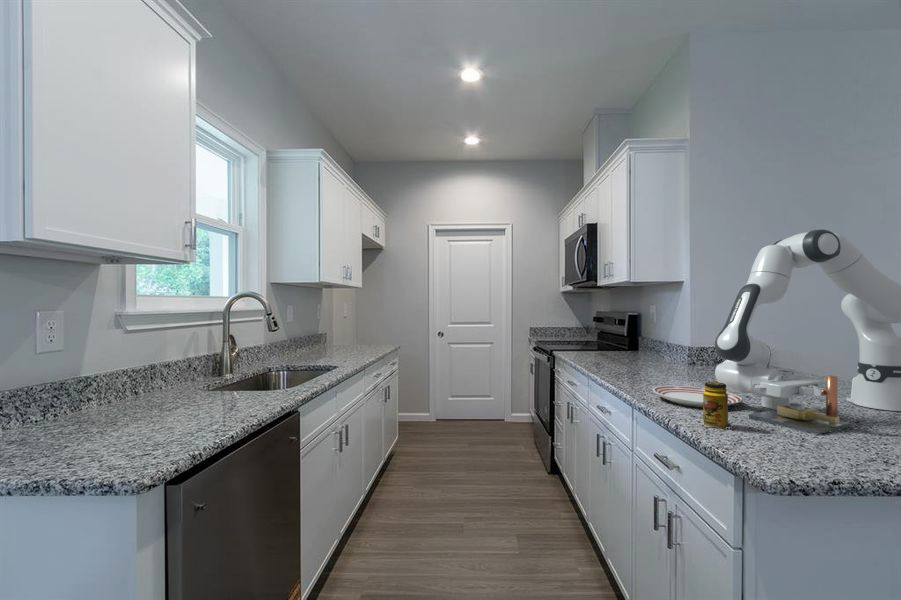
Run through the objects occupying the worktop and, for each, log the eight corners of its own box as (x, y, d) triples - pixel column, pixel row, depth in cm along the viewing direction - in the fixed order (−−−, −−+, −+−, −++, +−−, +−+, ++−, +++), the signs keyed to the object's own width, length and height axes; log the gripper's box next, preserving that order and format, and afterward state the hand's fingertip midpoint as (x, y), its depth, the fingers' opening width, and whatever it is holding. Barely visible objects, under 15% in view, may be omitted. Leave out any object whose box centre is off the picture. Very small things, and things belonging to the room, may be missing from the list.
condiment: (701, 426, 126) (702, 384, 126) (700, 419, 134) (700, 379, 134) (732, 430, 123) (732, 386, 123) (729, 422, 130) (729, 381, 130)
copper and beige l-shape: (775, 414, 134) (776, 370, 134) (790, 411, 137) (790, 368, 137) (829, 426, 121) (830, 377, 121) (844, 423, 124) (844, 375, 124)
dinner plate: (727, 396, 166) (727, 387, 166) (755, 414, 140) (755, 404, 140) (647, 391, 174) (647, 383, 174) (659, 408, 148) (659, 398, 148)
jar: (787, 412, 142) (787, 374, 142) (758, 406, 149) (758, 370, 149) (798, 408, 147) (798, 371, 147) (770, 403, 154) (770, 368, 154)
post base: (779, 412, 142) (780, 396, 142) (850, 427, 126) (851, 409, 126) (747, 418, 135) (747, 401, 135) (818, 435, 118) (818, 416, 118)
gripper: (749, 375, 133) (801, 384, 120) (790, 370, 141) (843, 378, 129) (748, 396, 133) (801, 408, 120) (789, 391, 141) (843, 400, 129)
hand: (823, 392), depth 124 cm, fingers closed
